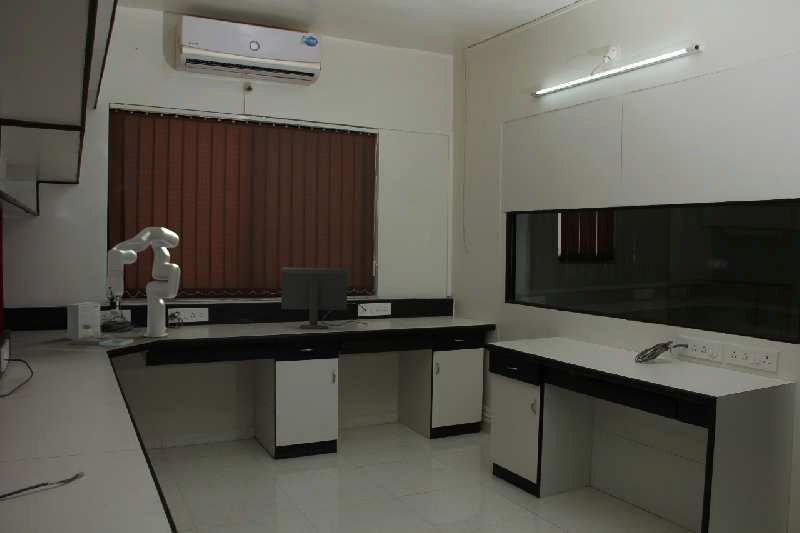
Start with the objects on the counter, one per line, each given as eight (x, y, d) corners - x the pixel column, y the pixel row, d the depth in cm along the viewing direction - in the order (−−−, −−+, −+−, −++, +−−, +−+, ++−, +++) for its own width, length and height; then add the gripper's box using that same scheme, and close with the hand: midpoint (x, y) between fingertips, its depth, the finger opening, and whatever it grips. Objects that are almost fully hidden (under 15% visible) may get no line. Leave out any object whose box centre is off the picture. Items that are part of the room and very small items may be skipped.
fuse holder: (87, 341, 334) (88, 334, 334) (115, 342, 333) (115, 335, 333) (71, 346, 318) (71, 338, 318) (99, 346, 317) (99, 339, 317)
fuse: (85, 341, 328) (85, 324, 328) (92, 341, 328) (92, 324, 327) (81, 342, 324) (81, 325, 324) (88, 342, 324) (88, 325, 324)
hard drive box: (90, 337, 350) (90, 301, 349) (100, 338, 347) (101, 302, 347) (66, 340, 335) (67, 303, 335) (77, 341, 333) (78, 304, 332)
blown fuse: (113, 314, 325) (113, 296, 324) (120, 314, 324) (120, 297, 324) (109, 314, 321) (109, 297, 321) (116, 315, 321) (116, 297, 320)
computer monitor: (346, 326, 427) (347, 268, 426) (346, 329, 411) (347, 269, 410) (282, 325, 424) (283, 267, 423) (279, 328, 408) (280, 267, 407)
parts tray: (112, 343, 330) (113, 338, 330) (133, 343, 330) (133, 339, 329) (99, 347, 316) (99, 342, 316) (120, 348, 316) (120, 343, 315)
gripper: (116, 272, 331) (116, 307, 331) (99, 274, 314) (99, 310, 315) (130, 273, 330) (129, 307, 331) (114, 274, 314) (113, 310, 314)
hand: (115, 308), depth 323 cm, fingers closed on blown fuse, 3 cm apart
